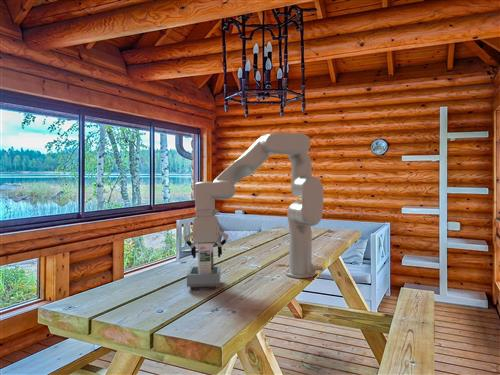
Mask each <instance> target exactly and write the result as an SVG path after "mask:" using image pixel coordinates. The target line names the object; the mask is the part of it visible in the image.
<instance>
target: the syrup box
mask: <svg viewBox="0 0 500 375" xmlns="http://www.w3.org/2000/svg"><path fill="white" fill-rule="evenodd" d="M214 262H215V260H214V243H197V267H198V274H214V266H215V265H214Z"/></svg>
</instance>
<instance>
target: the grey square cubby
mask: <svg viewBox="0 0 500 375" xmlns="http://www.w3.org/2000/svg"><path fill="white" fill-rule="evenodd" d="M221 276H222V275H221V266H220V265H216V266H215V265H214V274H198V266H190V268H189V269H188V272H187V274H186V288H188V287H189V289H190V290H192V291H194V290H195V289H196V287H211V289H212V290H216V289H217V287H220V284H221V283H220V282H221Z"/></svg>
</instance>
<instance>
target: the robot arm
mask: <svg viewBox="0 0 500 375" xmlns="http://www.w3.org/2000/svg"><path fill="white" fill-rule="evenodd" d="M310 148H311V139H310V137H309V136H308V135H307V134H305V133H301V132H269V133H267V134H262V135H261V136H259V137H258V138H257V140H255V141H254V142H253V143H252V144H251V145H250V146H249V147H248V148H247V150H246V151H244V153H242V155H241V156H240V157H238V159H236V160H234V161H233V163H232V164H230V165H229V166H228V167H227V168H225V169H224V170H223V171H222V172H221V173H219V175H218V176H216V178H215V179H214V180H213V181H197V182H195V184H194V206H195V211H194V212H195V216H194V218H193V224H192V231H191V232H190V233H188V234H186V235H184V236H183V239H184V241H185V243H186V245H188V246H189V248H190V250H191V256H192V258H193V259H195V258H196V257H197V250H196V248H197V247H196V244H198V243H213V244H214V243H216V244H217V245H218V246H217V257H218V258H221V255H222V254H223V246H224V245H225V243H226V242H227V240H228V239H229V234H228V233H225V232H223V231H221V230H220V226H219V225H220V224H219V219H218V215H217V214H219V211H220V210H219V209H216V207H215V206H216V205H215V203H216V202H215V200H221V201H222V200H223V201H224V200H225V201H226V200H230V199H233V197H234V196H235V194H236V187H235V185H237V183H238V182H240V181H241V180H243V179H245V178H246V177H249V176H251V175H253V174H254V173H256V172H257V170H259V169H260V168H261V167H262V165H264V163H265V162H266V161H267V160H268V159H270V157H271V156H273V155H286V156H287V157H288V159H289V161H290V164H291V179H290V180H291V184H290V189H291V190H290V191H291V194H292V196H294V197H296V198H298V199H299V198H300V199H301V200H296V201H293V202H292V203H291V204H290V205H288V208H287V216H286V217H287V222H288V228H289V229H288V232H289V235H288V236H289V240H288V242H289V243H288V244H289V245H288V246H289V248H288V250H289V254H288V256H289V257H288V258H289V268H288V269H287V270H286V271H285V275H286V276H288V277H290V278H295V279H297V278H298V279H307V278H313V277H314V276H316V271H324V269H323V268H324V266H323V265H318V264H313V263H312V258H313V257H312V255H313V254H312V252H313V251H312V250H313V249H312V248H313V246H312V245H313V244H312V243H313V242H312V239H313V238H312V237H313V236H312V227H314V226H317V225H319V224H320V222H321V221H322V218H323V213H324V212H323V211H324V210H323V209H324V186H323V183H322V182H321V179H319V177H316V176H313V173H312V172H313V171H312V170H313V169H312V168H313V166H312V159H311V156H310V155H309V153H308V151H309V150H310ZM220 236H221V237H223V239H222V240H220ZM191 237H192V242H191V241H190V239H189V238H191Z"/></svg>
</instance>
